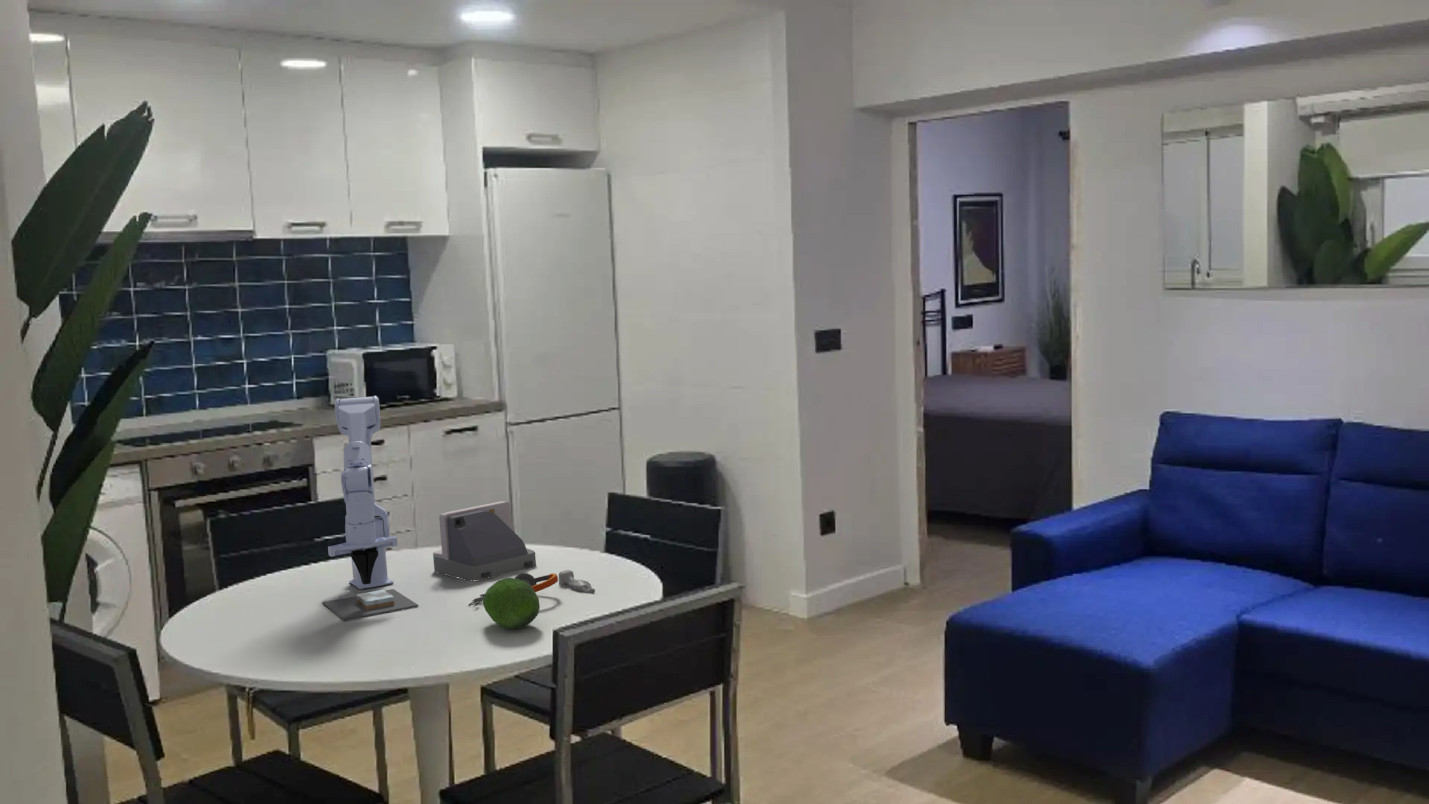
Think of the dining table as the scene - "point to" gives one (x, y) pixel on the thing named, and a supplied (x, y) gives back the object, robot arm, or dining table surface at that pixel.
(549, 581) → the headphones
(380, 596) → the tile
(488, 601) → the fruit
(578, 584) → the figurine
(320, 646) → the dining table surface
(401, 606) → the mat
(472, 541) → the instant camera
